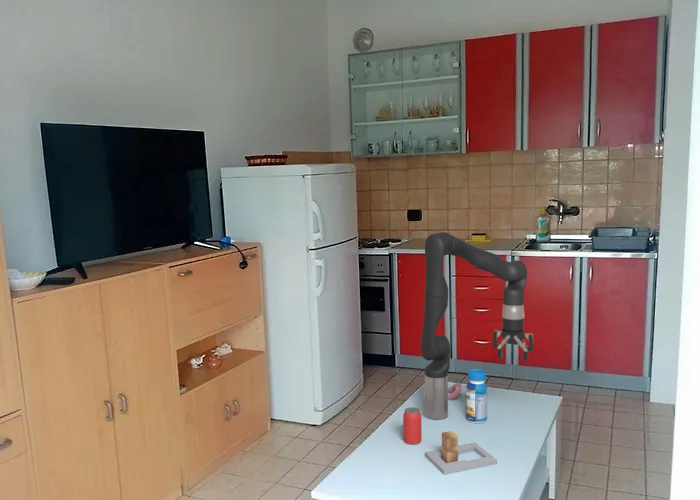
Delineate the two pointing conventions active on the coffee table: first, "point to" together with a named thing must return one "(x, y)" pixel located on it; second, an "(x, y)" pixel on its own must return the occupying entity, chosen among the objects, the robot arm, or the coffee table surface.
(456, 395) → the video game controller
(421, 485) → the coffee table surface
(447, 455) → the tan peg
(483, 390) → the beverage bottle
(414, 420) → the beer can
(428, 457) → the keyhole plate
